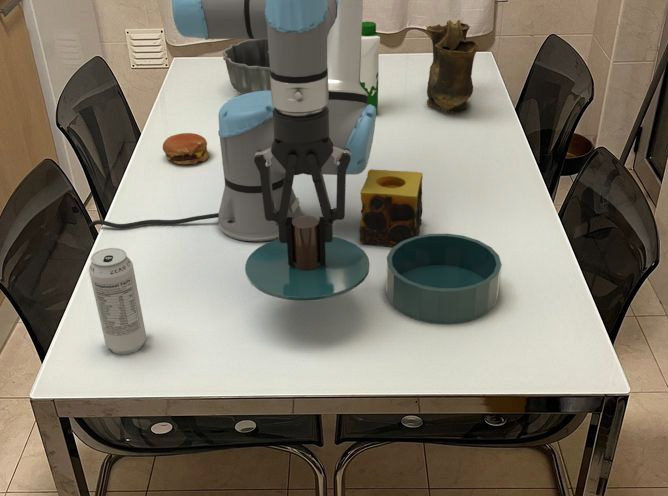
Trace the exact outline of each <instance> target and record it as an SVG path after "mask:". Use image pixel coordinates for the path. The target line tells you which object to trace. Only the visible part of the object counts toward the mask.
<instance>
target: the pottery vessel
mask: <svg viewBox="0 0 668 496" xmlns="http://www.w3.org/2000/svg"><path fill="white" fill-rule="evenodd" d="M470 28H471V25H469V24H467V23H463V22H461V20H460V19H458V20H457V21H456V22H455V23H454V22H453V21H451V19H449V20H447V22H446V24H445V25H441V24H437V25H427V26H426V28H425V29H426V31H427V32H428V34H429V35H430V37H431V42H432V63H431V65H430V66H429V71H428V72H429V73H428V81H427V89H426V96H427V98H428V99H427V100H426V105H427V107H430V106H433V107H434V108H436V109H439V111H443V110H445V111H446V113H447V114H449V115H450V114H451V113H452V114H460V113H464V112H466V111H467V110H468V109H469V103H468V100H469V99H470V98H471V97H472V95H473V93H474V84H473V83H474V82H473V78H472V74H473V66H474V60H475V57H476V54H477V52H478V51H479V43H478V42H477V41H473V40H467V36H468V35H467V34H468V31H469V30H470Z"/></svg>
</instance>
